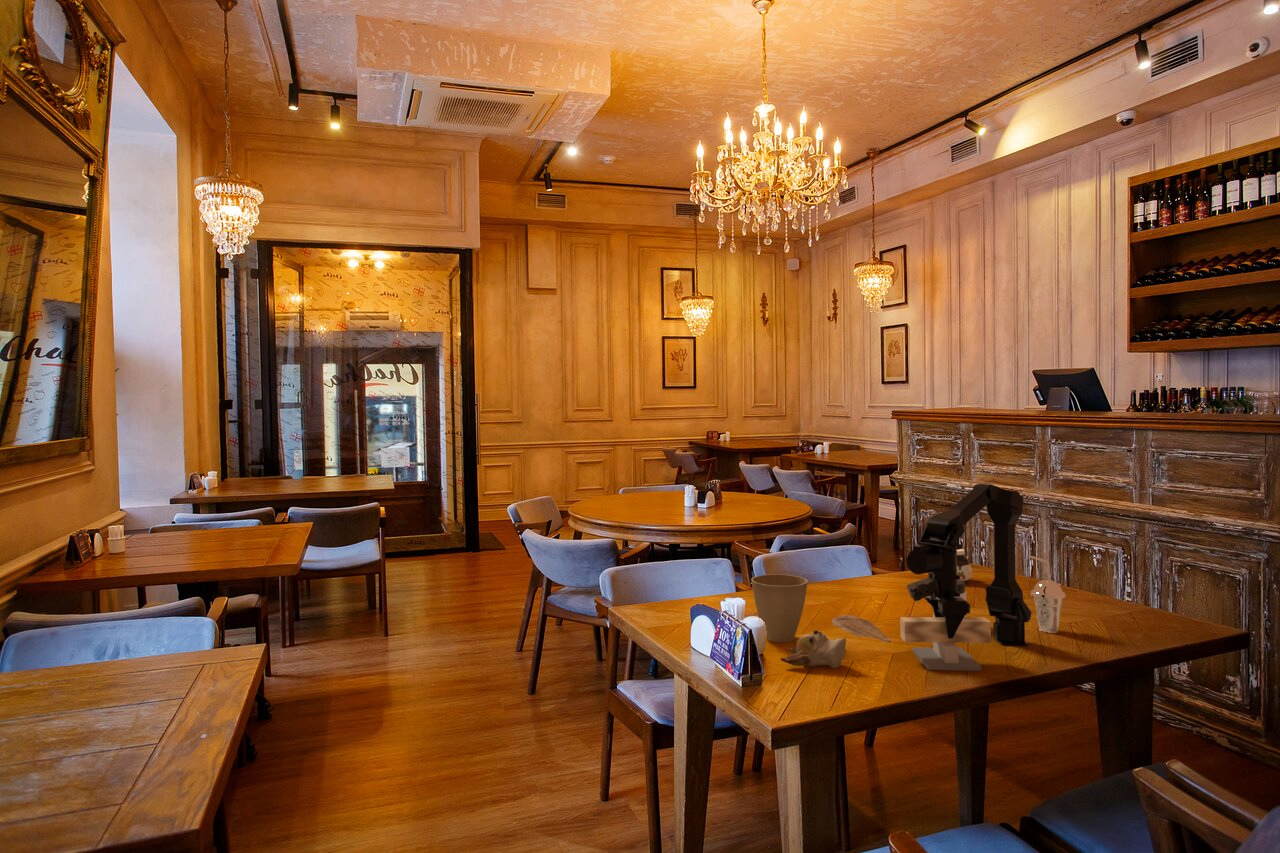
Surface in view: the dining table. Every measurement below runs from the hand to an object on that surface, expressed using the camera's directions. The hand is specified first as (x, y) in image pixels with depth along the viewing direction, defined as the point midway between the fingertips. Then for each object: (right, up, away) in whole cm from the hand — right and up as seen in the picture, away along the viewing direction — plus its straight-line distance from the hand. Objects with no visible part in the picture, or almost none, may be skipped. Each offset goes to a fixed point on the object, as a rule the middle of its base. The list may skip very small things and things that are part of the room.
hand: (945, 633), depth 183 cm
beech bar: (0, -2, 0) cm, 2 cm away
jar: (+14, -6, +32) cm, 35 cm away
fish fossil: (-12, -7, +27) cm, 31 cm away
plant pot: (-36, -7, +21) cm, 42 cm away
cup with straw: (+38, -6, +23) cm, 45 cm away
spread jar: (+39, -5, +86) cm, 94 cm away
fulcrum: (0, -7, 0) cm, 7 cm away
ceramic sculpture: (-32, -8, -1) cm, 33 cm away
